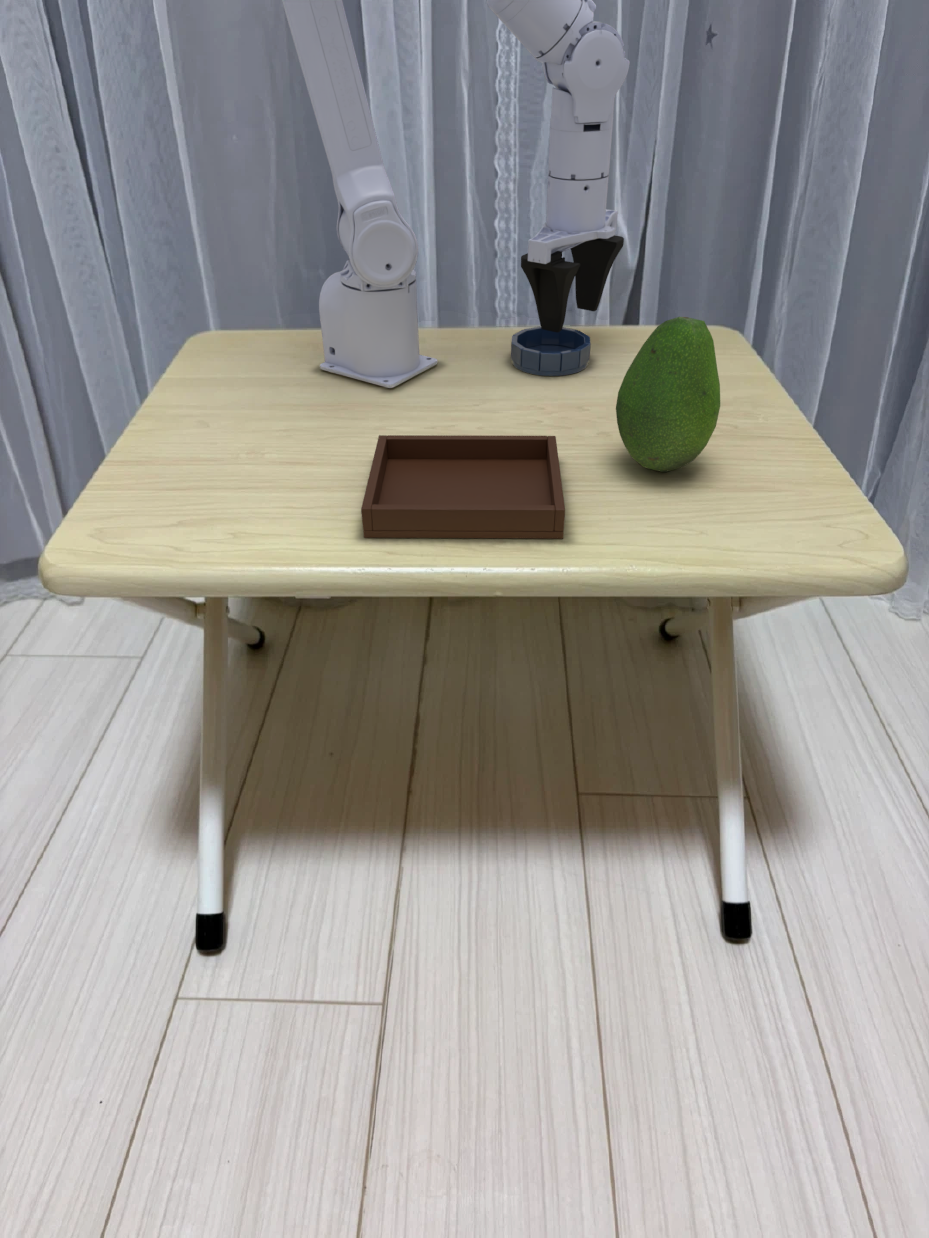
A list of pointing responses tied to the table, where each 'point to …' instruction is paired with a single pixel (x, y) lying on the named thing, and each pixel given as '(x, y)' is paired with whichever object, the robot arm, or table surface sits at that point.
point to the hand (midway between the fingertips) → (569, 319)
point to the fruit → (670, 396)
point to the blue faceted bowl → (550, 351)
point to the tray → (464, 488)
